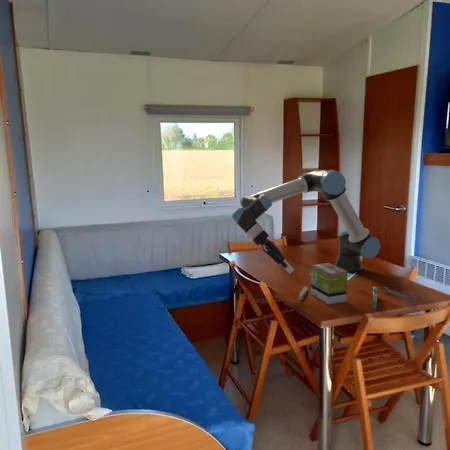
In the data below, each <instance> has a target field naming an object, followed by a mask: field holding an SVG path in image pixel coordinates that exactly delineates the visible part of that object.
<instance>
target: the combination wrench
mask: <svg viewBox="0 0 450 450" xmlns="http://www.w3.org/2000/svg"><path fill="white" fill-rule="evenodd" d="M385 289H386V291H385ZM382 293H384V294H388V293H389V294H391V295H394V296H397V297H399V298H402V299H405V300H408V301H409V302H410V303H411V304H413V305H415V304H416V305H417V304H418V301H415V300H414V299H417V296H416V295H410V296H408V295H405V294H402V293H399V292H397V291H395V290H392V289H389V288H388V287H387V286H383V287H382Z"/></svg>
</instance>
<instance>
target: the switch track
mask: <svg viewBox="0 0 450 450" xmlns="http://www.w3.org/2000/svg"><path fill="white" fill-rule="evenodd" d="M378 288H379V287H377V286H373V288H372V304H371V305H372V307H371V308H372V310H377V308H378ZM307 292H308V286H303V288H302V290H301V291H300V293H299V295H298V301H303V299H304V298H305V295H306V294H307Z"/></svg>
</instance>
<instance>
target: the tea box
mask: <svg viewBox="0 0 450 450" xmlns="http://www.w3.org/2000/svg"><path fill="white" fill-rule="evenodd" d="M310 272H311V273H310V295H313V296H314V297H316V298H317V299H319V300H321V301H322V302H324V303H325V304H327V305H333V304H335V305H336V304H338V303H339V304H340V303H345V302H347V288H348V286H347V285H348V272H347V271H345V270H343V269H341V268H339V267H336V266H335V265H334V264H331V263H330V262H325V263H319V264H318V263H317V264H311V267H310Z"/></svg>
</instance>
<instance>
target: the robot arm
mask: <svg viewBox="0 0 450 450" xmlns="http://www.w3.org/2000/svg"><path fill="white" fill-rule="evenodd" d="M346 184H347V181H346V178H345V177H344V175H343V173H341V172H340V171H337V170H334V169H329V170H328V169H317V170H313V171H310V172H307V173H304V174H301V175H299V176H298V177H297V179H293V180H291V181H288V182H286V183H283V184H280V185H277V186H274V187H270V188H268V189H266V190H263V191H259V192H258V193H253V194H250V195H249V194H248V195H244V196H242V197H241V199H240V203H239V204H240V207H238V208H237V209H236V210H235V211H233V213H232V215H231V217H232V219H233V220H234V221H235V223H236V224H237V225H238V227H239V228H241V230H243V231H244V233H245V234H246V235H247V236H246V237H248V238H250V239H251V240H252V241H253V243H254V244H255V245H256V246H257V247H259V246H260V245H261V247H262V251H263V252H264V253H266V254H267V255H268V256H269V257H270V258H271V259H272V261H274V262H275V263H276V264H277V265H281V267H282V268H283V269H284V270H285V271H286V272H287V273H288V274H291V273H292V272H294V270H295V269H294V268H293V267H292V265H291V264H290V263H289V262H288V261H287V260H286V256H285V255H284V254H283V253H282V251H281V250H280V249H279V248H278V246H277V245H276V244H275V242H274V241H271V240H270V239H268V237H269V233H267V231H266V230H265V229H264V228H263V226H261V225H260V224H259V222H257V220H258V219H259V218H260V217H261V216H262V215H264V214H265V213H266V212H268V211H269V209H270V208H271V207H272V206H273V204H275V203H276V202H279V201H282V200H285V199H287V198H291V197H293V196H295V195H296V196H297V195H299V194H302V193H303V194H307V193H310V192H311V193H312V192H318V193H321V195H322V196H323V198H324V199H325V201H328V202H330V203H331V206H332V208H333V209H334V212H335V213H336V214H337V216H338V218H339V219H340V221H341V223H342V225H343V226H344V228H345V229H341V230H340V231H339V234H338V238H339V239H338V256H337V258H336V261H335V263H334V264H335V265H334V266H336V267H339V268H341V269H343V270H345V271H347V273H358V272H362V271H363V263H362V259H361V257H362V258H365V259H372V258H374V257H376V256H377V255H378V254H379V251H380V249H381V242H380V240H379V239H378V238H376V237H374V236H373V235H372V233H371V232H370V230H369V228H366V227H365V226H364V225H363V223H362V221H361V220H360V218H359V216H358V214H357V212H356V210H355V209H354V206H353V205H352V203H351V202H350V200H349V198H348V196H347V194H346V191H347V188H346ZM263 229H264V230H263Z"/></svg>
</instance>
